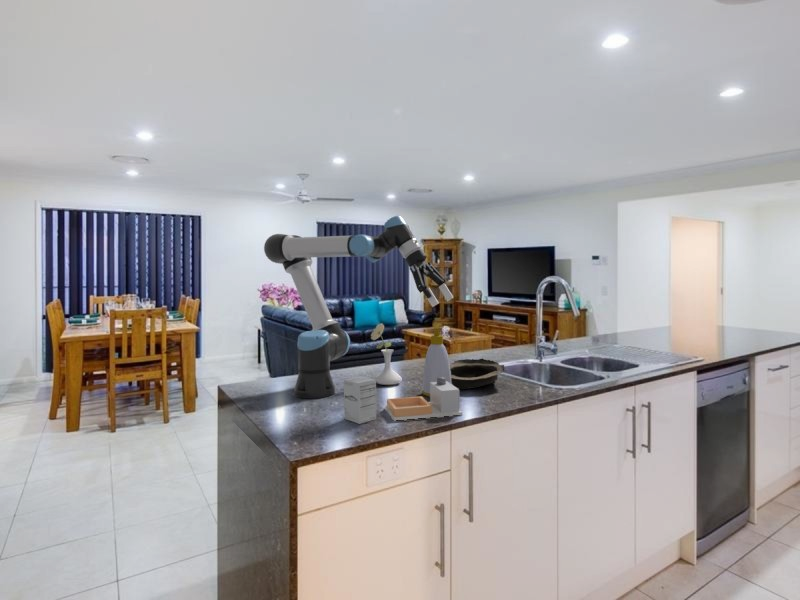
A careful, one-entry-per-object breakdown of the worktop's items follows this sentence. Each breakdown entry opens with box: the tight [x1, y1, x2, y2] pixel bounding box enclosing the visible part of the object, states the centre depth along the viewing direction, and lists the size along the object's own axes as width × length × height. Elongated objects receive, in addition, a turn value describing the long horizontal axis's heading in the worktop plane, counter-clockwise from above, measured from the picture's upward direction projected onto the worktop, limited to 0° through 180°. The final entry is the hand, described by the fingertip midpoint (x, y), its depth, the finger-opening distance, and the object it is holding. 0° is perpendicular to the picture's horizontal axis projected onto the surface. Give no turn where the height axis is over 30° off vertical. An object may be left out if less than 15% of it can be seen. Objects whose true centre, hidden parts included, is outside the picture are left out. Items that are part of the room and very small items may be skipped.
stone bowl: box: [450, 357, 505, 390], centre depth 187 cm, size 25×25×9 cm
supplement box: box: [343, 375, 377, 425], centre depth 146 cm, size 7×7×13 cm
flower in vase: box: [370, 323, 403, 386], centre depth 192 cm, size 13×11×25 cm
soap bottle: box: [422, 323, 453, 398], centre depth 175 cm, size 11×12×26 cm
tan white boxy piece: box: [384, 377, 463, 422], centre depth 153 cm, size 22×14×10 cm, turn 103°
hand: (443, 302), depth 173 cm, fingers open, 13 cm apart
